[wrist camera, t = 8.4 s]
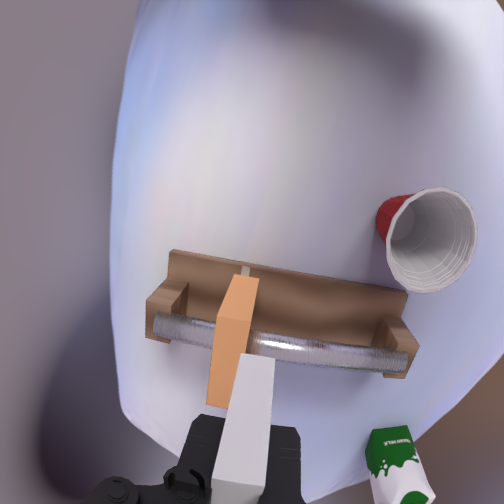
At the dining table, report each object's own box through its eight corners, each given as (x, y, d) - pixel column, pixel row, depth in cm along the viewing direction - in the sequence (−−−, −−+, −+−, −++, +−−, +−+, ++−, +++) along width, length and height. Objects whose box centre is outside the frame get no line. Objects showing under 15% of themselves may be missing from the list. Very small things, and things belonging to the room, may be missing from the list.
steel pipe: (163, 302, 36) (152, 316, 32) (402, 342, 35) (411, 357, 31) (162, 328, 37) (152, 343, 33) (392, 365, 36) (400, 381, 32)
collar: (234, 273, 38) (216, 315, 27) (259, 278, 38) (250, 322, 27) (223, 350, 41) (206, 404, 30) (245, 354, 41) (234, 410, 30)
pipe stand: (173, 249, 42) (147, 271, 33) (404, 290, 40) (430, 319, 32) (167, 327, 45) (145, 360, 36) (378, 362, 44) (394, 399, 35)
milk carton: (412, 421, 47) (444, 503, 27) (399, 450, 49) (422, 528, 30) (368, 426, 47) (390, 517, 28) (359, 455, 50) (373, 538, 31)
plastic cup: (369, 272, 40) (399, 312, 29) (346, 194, 38) (372, 207, 26) (438, 245, 38) (485, 274, 27) (420, 169, 36) (468, 173, 24)
